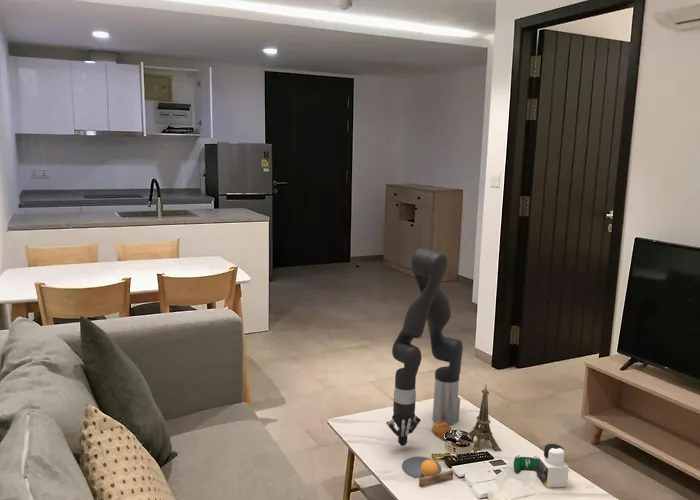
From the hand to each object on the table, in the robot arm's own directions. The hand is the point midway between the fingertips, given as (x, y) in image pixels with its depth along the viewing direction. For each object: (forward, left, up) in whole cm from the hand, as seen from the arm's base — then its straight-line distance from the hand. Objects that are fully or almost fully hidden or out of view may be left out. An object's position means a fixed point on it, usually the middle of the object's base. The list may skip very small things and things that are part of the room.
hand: (402, 444), depth 207 cm
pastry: (-19, -4, -2) cm, 20 cm away
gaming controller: (-32, +27, -2) cm, 42 cm away
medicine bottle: (-35, +35, -2) cm, 50 cm away
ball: (0, +18, +1) cm, 19 cm away
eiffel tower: (-28, +8, -2) cm, 29 cm away
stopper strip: (0, +22, -2) cm, 22 cm away
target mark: (0, +13, -2) cm, 13 cm away
